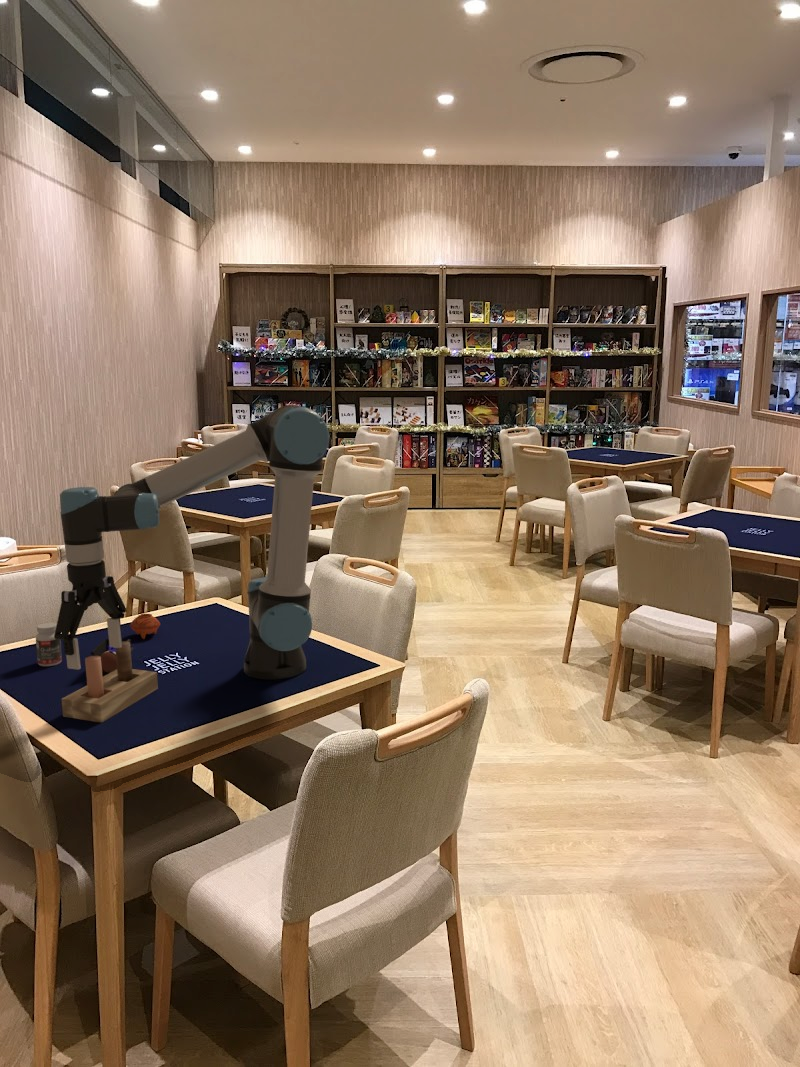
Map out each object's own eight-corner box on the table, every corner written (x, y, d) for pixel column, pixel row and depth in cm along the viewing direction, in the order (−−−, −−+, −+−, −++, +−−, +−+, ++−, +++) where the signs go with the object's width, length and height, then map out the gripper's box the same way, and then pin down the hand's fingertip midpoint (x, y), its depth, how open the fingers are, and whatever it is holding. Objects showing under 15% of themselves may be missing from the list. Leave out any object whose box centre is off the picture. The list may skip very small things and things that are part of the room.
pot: (123, 638, 234) (124, 613, 234) (142, 636, 241) (143, 612, 241) (147, 640, 231) (148, 615, 231) (165, 638, 238) (166, 614, 238)
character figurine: (137, 659, 219) (117, 682, 204) (109, 657, 219) (86, 679, 204) (138, 630, 217) (117, 651, 202) (109, 628, 217) (86, 648, 202)
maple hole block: (157, 688, 198) (156, 672, 198) (101, 722, 180) (100, 704, 179) (121, 683, 202) (120, 667, 201) (63, 716, 183) (61, 698, 182)
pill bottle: (42, 668, 212) (38, 630, 210) (34, 662, 216) (31, 624, 214) (65, 663, 215) (62, 625, 213) (58, 657, 220) (54, 620, 218)
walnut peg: (136, 692, 196) (133, 642, 194) (127, 697, 193) (124, 646, 191) (124, 690, 197) (121, 640, 195) (116, 695, 195) (112, 645, 192)
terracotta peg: (108, 708, 187) (104, 656, 185) (98, 714, 184) (94, 661, 182) (96, 706, 188) (91, 655, 186) (86, 712, 185) (81, 659, 183)
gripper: (108, 547, 192) (117, 637, 197) (27, 575, 169) (40, 676, 174) (136, 549, 190) (145, 640, 194) (58, 577, 167) (70, 680, 171)
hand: (95, 657), depth 184 cm, fingers open, 13 cm apart
